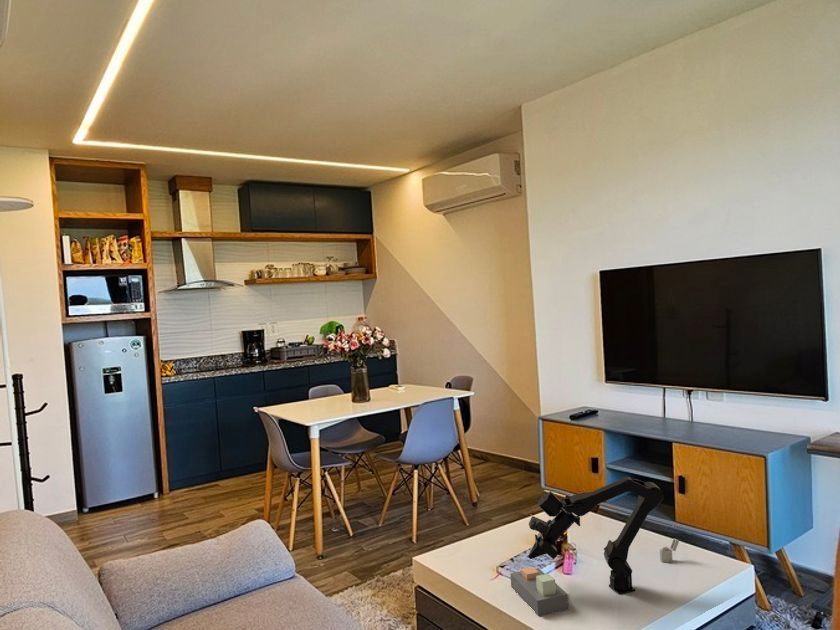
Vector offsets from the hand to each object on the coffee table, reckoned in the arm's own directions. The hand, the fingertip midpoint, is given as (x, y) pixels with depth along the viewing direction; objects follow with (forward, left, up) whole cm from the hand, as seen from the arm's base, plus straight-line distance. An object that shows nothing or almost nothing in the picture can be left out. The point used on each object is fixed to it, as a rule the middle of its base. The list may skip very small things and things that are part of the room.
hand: (529, 557), depth 208 cm
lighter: (-58, -1, -12) cm, 59 cm away
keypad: (0, +6, -12) cm, 13 cm away
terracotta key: (0, 0, -10) cm, 10 cm away
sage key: (0, +12, -8) cm, 14 cm away
